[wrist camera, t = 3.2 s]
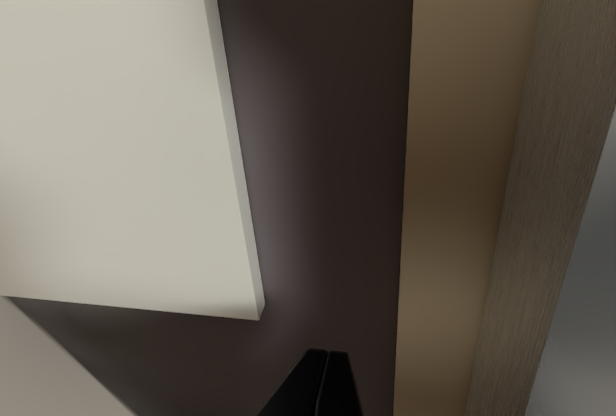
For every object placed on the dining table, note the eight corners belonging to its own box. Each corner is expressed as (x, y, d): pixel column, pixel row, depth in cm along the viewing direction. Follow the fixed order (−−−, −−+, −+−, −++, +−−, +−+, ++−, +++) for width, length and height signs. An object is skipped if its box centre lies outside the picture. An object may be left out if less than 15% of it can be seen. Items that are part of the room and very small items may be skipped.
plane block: (605, 461, 13) (618, 497, 13) (392, 431, 15) (390, 463, 14) (1114, -573, 4) (1280, -684, 3) (434, -427, 5) (437, -484, 5)
